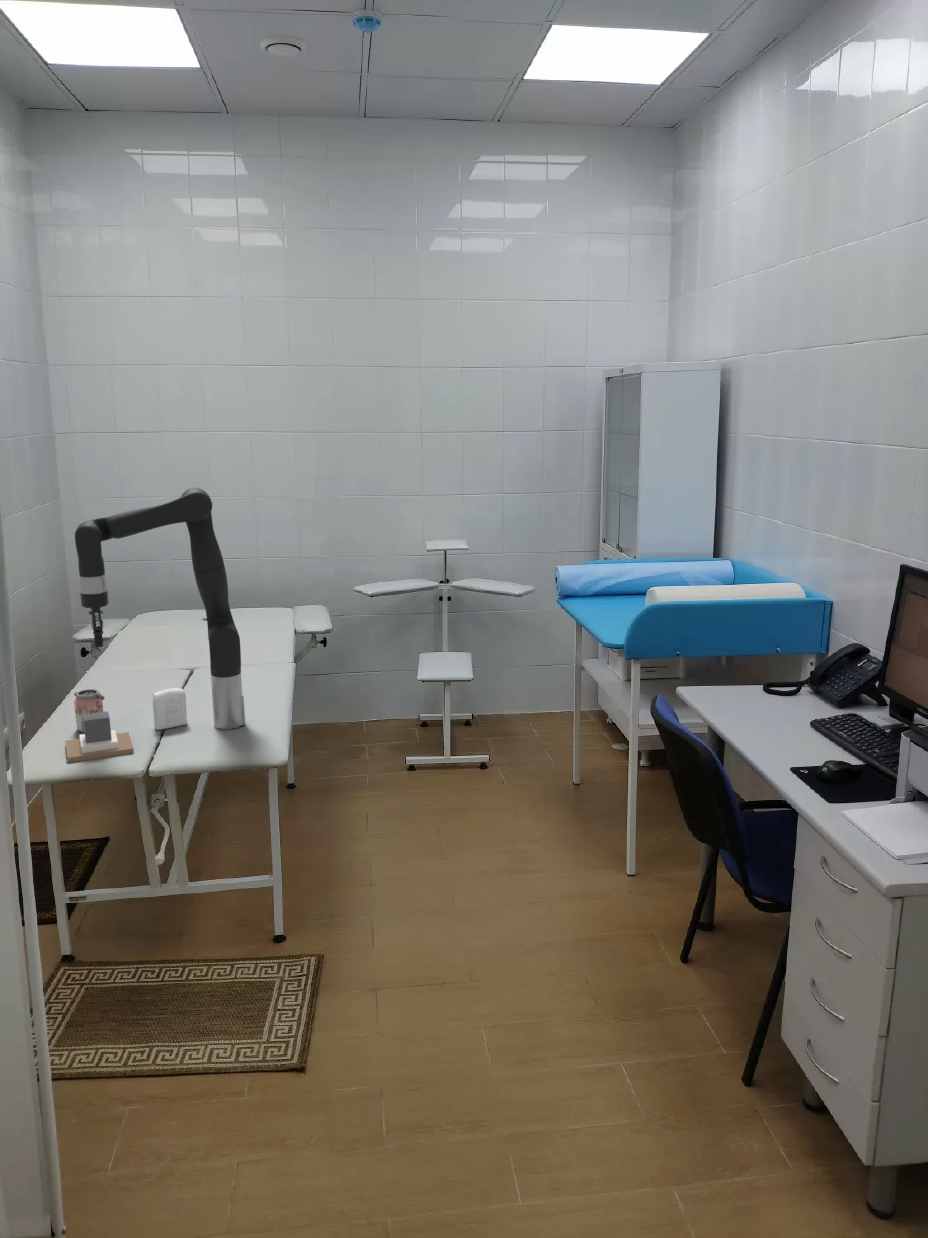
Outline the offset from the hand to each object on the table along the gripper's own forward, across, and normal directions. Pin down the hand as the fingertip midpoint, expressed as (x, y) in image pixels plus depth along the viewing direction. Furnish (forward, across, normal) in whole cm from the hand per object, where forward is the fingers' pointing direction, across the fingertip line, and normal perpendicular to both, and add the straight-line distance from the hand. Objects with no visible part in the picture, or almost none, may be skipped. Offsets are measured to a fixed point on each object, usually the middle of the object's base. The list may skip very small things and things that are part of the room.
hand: (99, 646), depth 282 cm
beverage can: (+29, +10, +4) cm, 31 cm away
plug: (+27, -9, +3) cm, 29 cm away
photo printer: (+29, +2, -19) cm, 35 cm away
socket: (+29, -9, +3) cm, 31 cm away
